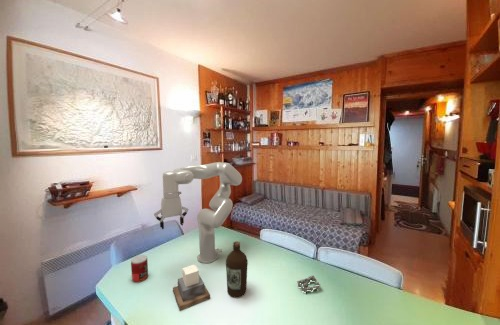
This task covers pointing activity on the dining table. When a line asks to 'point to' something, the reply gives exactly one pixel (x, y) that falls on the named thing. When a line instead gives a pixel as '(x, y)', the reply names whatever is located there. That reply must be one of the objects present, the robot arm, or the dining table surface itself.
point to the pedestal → (190, 294)
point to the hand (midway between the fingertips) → (172, 226)
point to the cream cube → (190, 275)
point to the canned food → (139, 268)
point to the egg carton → (305, 284)
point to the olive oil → (236, 272)
